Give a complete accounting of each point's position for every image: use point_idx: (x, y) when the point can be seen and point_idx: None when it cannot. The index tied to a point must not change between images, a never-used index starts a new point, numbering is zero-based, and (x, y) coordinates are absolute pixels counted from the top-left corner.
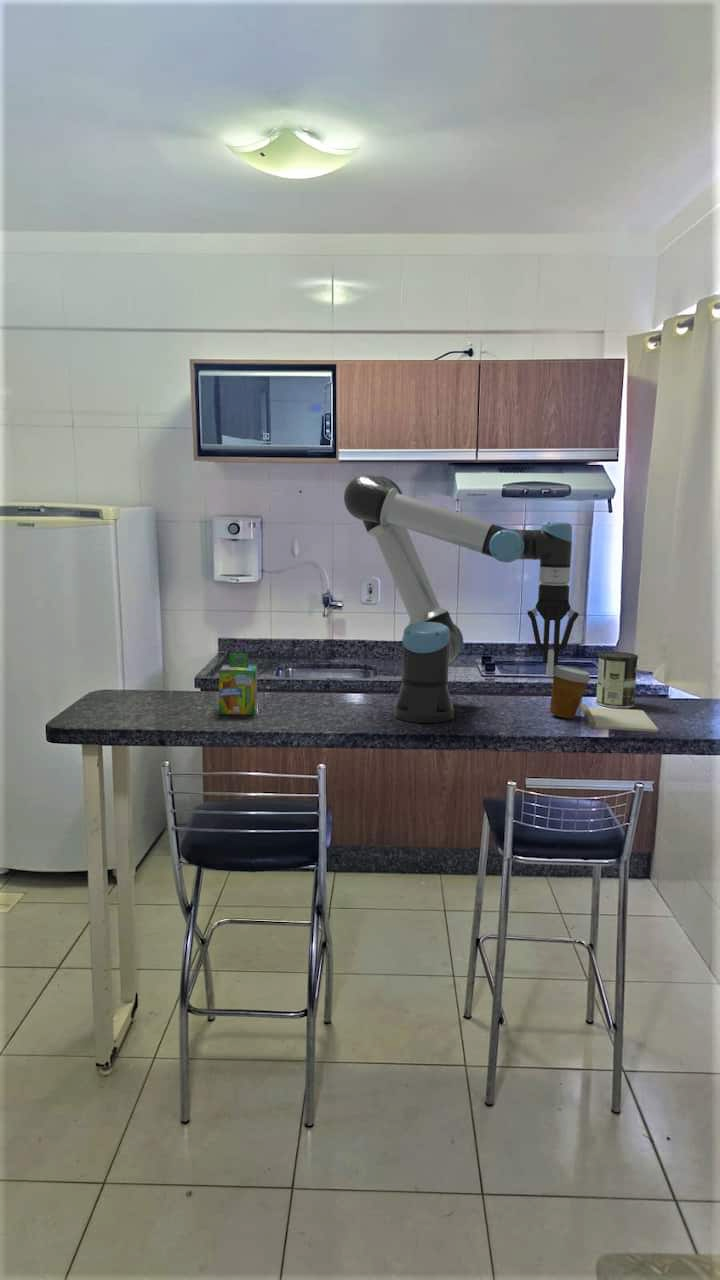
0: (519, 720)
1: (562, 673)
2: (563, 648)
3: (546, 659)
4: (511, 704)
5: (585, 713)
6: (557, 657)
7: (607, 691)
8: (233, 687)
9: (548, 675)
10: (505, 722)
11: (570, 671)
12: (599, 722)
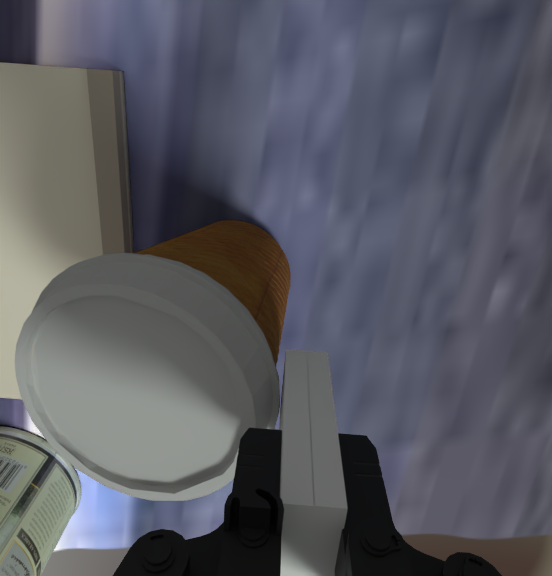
0: (452, 171)
1: (220, 308)
2: (167, 535)
3: (345, 458)
4: (416, 437)
5: None
6: (243, 468)
7: (7, 489)
8: None
9: (317, 357)
10: (537, 117)
11: (150, 377)
12: (73, 147)
